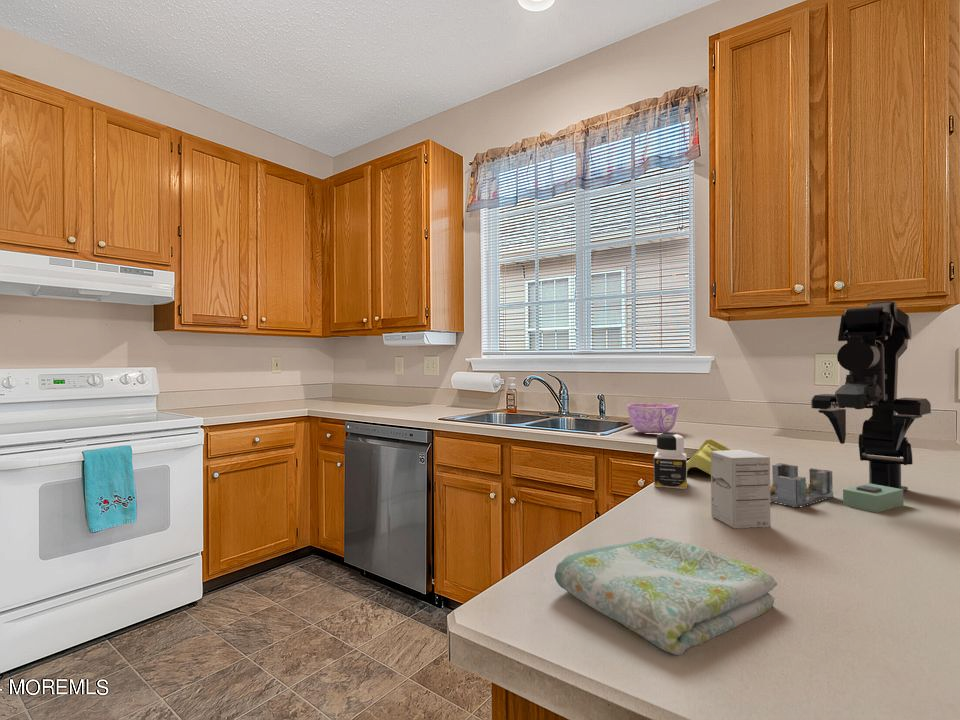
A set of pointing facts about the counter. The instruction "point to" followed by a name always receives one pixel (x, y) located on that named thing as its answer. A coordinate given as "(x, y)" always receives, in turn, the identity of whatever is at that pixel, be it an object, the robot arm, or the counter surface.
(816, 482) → the chassis
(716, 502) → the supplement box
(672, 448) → the medicine bottle
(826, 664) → the counter surface
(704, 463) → the plastic component
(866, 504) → the green block
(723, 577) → the towel
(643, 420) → the purple round bowl
